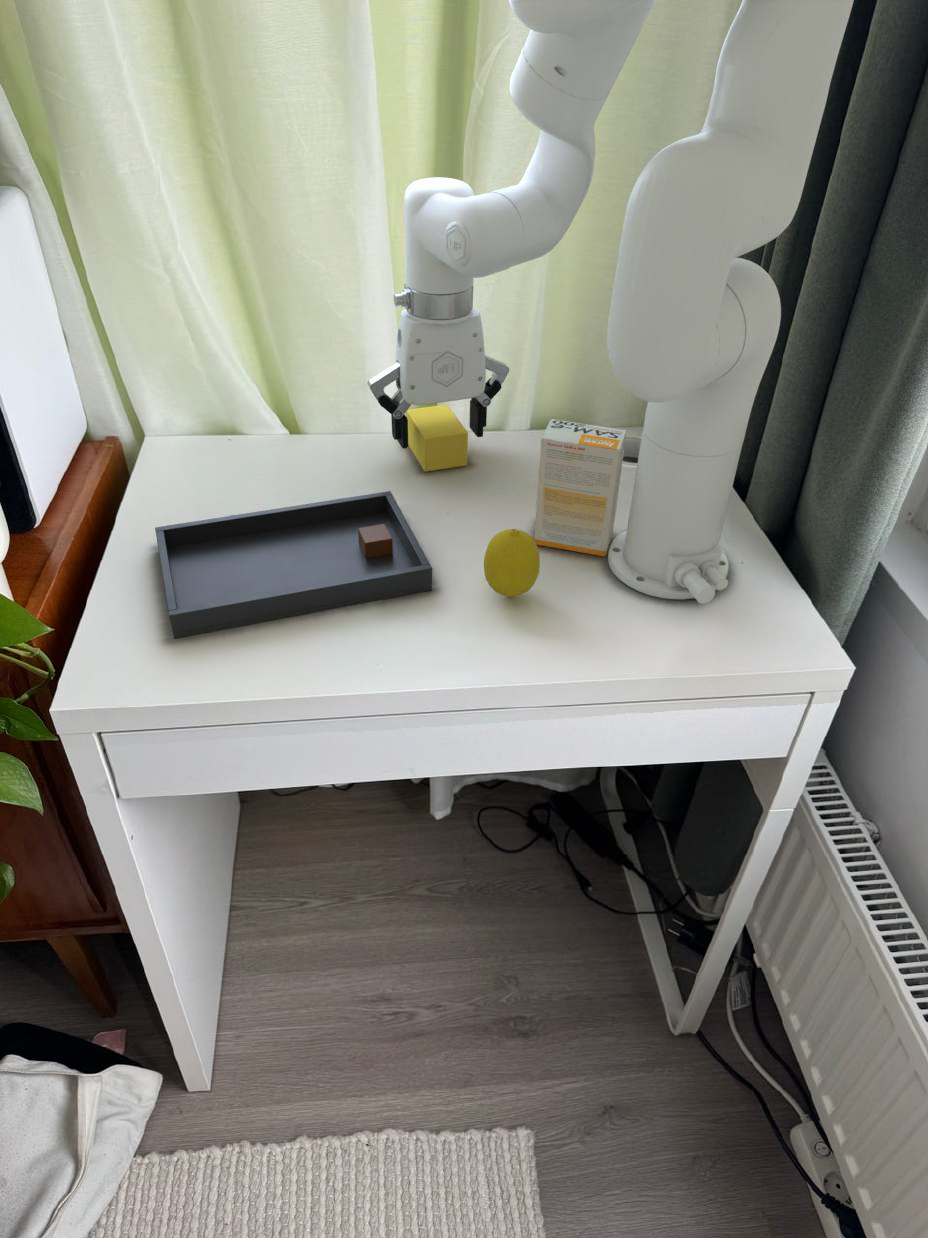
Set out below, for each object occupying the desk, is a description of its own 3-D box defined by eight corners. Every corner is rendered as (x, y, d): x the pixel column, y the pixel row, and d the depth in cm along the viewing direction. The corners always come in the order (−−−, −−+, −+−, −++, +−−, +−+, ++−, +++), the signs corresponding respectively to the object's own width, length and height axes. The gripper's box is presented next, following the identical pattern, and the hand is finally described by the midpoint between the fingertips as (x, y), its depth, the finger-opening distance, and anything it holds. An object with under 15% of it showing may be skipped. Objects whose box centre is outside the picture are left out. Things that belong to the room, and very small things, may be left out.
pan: (432, 590, 94) (432, 568, 93) (174, 638, 88) (168, 615, 86) (391, 511, 106) (390, 490, 104) (159, 549, 99) (154, 527, 97)
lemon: (521, 619, 91) (527, 552, 86) (472, 601, 93) (475, 535, 88) (545, 590, 95) (552, 524, 90) (498, 573, 97) (501, 508, 92)
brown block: (393, 554, 98) (392, 538, 97) (365, 558, 98) (364, 543, 96) (385, 539, 101) (385, 523, 99) (358, 543, 100) (357, 527, 98)
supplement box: (613, 535, 103) (629, 428, 95) (606, 559, 100) (622, 449, 91) (541, 522, 105) (551, 416, 97) (531, 544, 101) (540, 436, 93)
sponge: (467, 465, 115) (468, 432, 112) (424, 471, 113) (424, 438, 110) (446, 436, 121) (447, 404, 118) (406, 441, 119) (405, 409, 116)
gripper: (373, 319, 99) (379, 462, 110) (523, 303, 104) (515, 441, 114) (356, 296, 105) (364, 434, 115) (499, 282, 109) (494, 415, 120)
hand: (439, 437), depth 115 cm, fingers open, 9 cm apart
